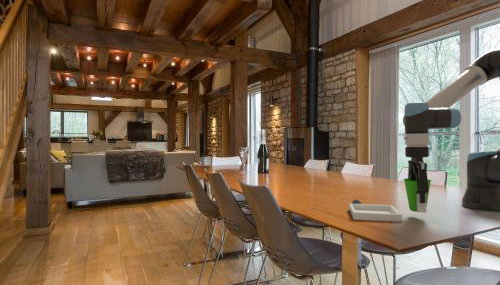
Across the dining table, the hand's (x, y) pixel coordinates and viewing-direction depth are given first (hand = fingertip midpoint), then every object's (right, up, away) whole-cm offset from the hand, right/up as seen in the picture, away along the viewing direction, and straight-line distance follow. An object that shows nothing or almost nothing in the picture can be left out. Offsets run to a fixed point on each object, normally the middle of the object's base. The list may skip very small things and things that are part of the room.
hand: (417, 209), depth 116 cm
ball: (-16, -3, +17) cm, 24 cm away
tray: (-14, -3, +5) cm, 15 cm away
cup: (0, -1, 0) cm, 1 cm away
